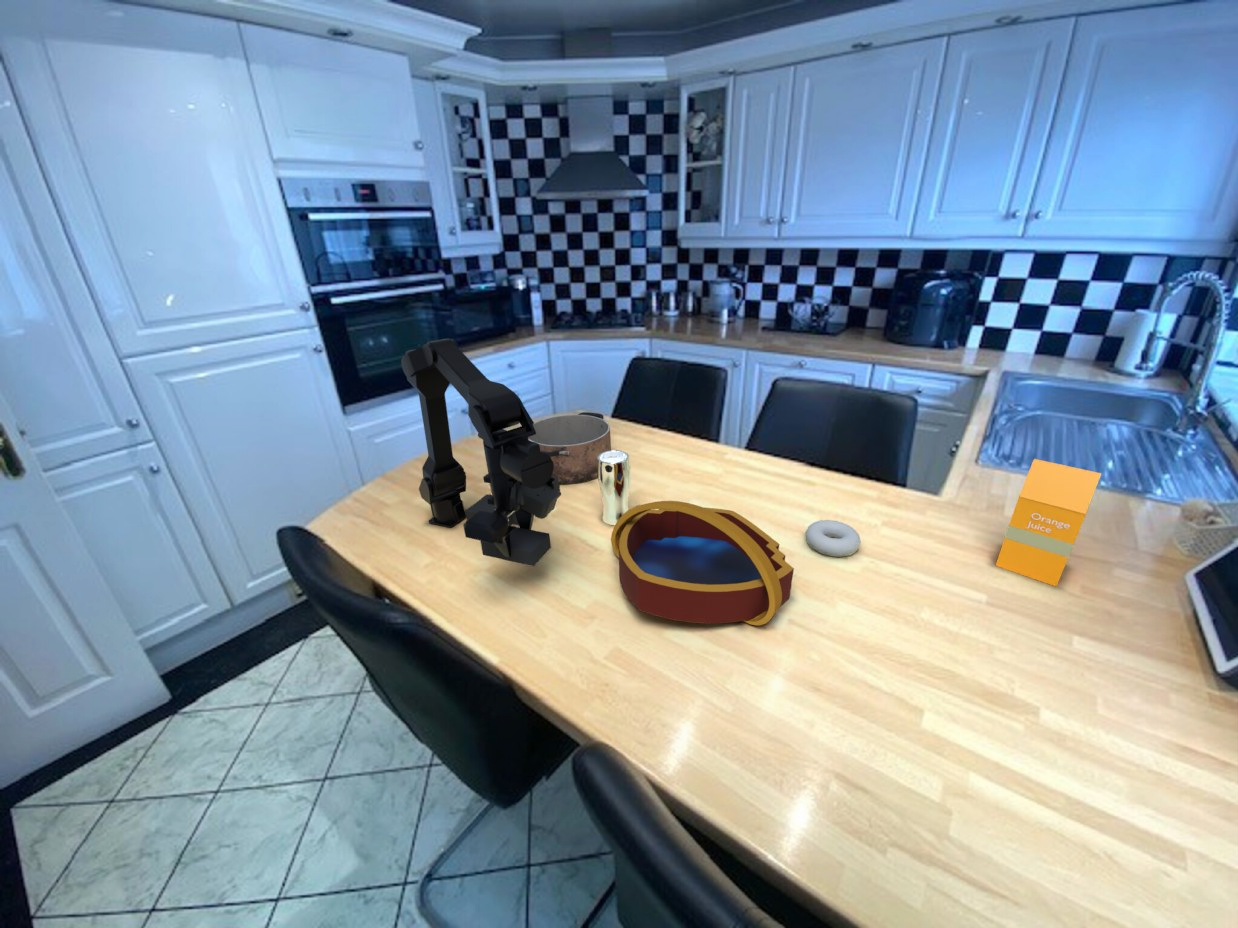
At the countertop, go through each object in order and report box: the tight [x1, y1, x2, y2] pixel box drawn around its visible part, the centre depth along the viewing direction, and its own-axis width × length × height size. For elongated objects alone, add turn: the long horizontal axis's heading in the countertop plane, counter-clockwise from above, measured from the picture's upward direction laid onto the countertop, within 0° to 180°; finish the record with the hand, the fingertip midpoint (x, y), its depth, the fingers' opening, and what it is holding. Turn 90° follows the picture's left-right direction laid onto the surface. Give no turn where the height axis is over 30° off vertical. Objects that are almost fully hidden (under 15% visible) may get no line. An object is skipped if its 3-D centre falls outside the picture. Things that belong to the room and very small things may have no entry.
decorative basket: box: [610, 500, 795, 626], centre depth 88 cm, size 34×29×15 cm
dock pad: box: [464, 494, 519, 526], centre depth 113 cm, size 13×8×3 cm, turn 68°
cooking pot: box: [528, 411, 612, 485], centre depth 134 cm, size 30×22×11 cm
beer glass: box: [597, 449, 632, 526], centre depth 108 cm, size 7×7×15 cm
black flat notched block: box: [479, 525, 552, 567], centre depth 90 cm, size 10×6×3 cm, turn 68°
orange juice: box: [995, 458, 1102, 587], centre depth 87 cm, size 8×9×20 cm
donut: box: [805, 519, 861, 557], centre depth 98 cm, size 10×4×10 cm
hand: (517, 546), depth 90 cm, fingers closed on black flat notched block, 6 cm apart
